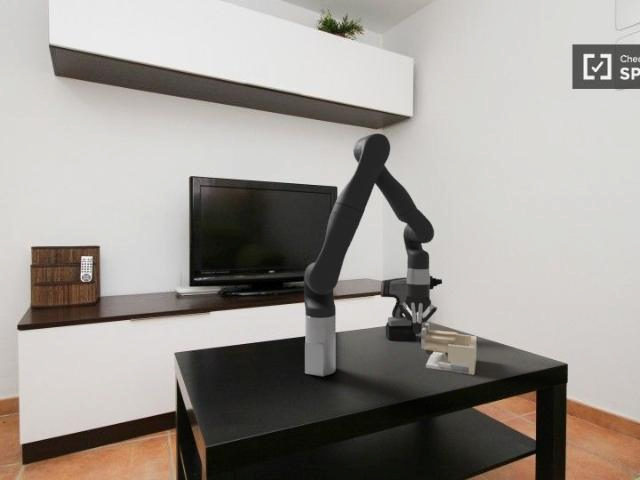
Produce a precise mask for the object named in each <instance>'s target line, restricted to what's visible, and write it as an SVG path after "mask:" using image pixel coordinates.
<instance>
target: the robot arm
mask: <svg viewBox="0 0 640 480" xmlns="http://www.w3.org/2000/svg"><path fill="white" fill-rule="evenodd" d="M352 152H353V157H354V159H355V160H356V162H357V166H356V169H355V171H354V173H353V175H352V177H351V178H350V179H349V181H348V182H347V184H346V185H345V186H344V187H343V189H342V190H341V192H340V193H339V195H338V196H337V199H336V200H335V203H334V204H333V207H332V209H331V212H330V215H329V218H328V222H327V227H326V232H325V238H324V243H323V245H322V248H321V251H320V252H319V255H318V256H317V259H316V261H315V262H314V261H313V262H311V263H310V264H309V265H308V266H307V267H306V269H305V271H304V275H303V296H304V297H303V298H304V299H303V301H304V302H303V303H304V307H305V308H304V309H305V327H304V328H305V342H304V373H305V374H307V375H311V376H312V375H313V376H317V377H325V376H329V375H331V374H334V373H335V372H336V346H337V345H336V344H337V343H336V330H337V329H336V328H337V327H336V325H337V323H336V322H337V321H336V320H337V319H336V316H337V315H336V313H337V310H336V309H337V308H336V304H335V299H334V289H335V288H336V286H337V284H338V282H339V279H340V276H341V275H340V274H341V271H342V268H343V264H344V261H345V257H346V254H347V253H348V250H349V248H350V246H351V244H352V241H353V239H354V237H355V235H356V233H357V230H358V228H359V226H360V224H361V221H362V218H363V216H364V214H365V211H366V207H367V205H368V203H369V200H370V198H371V195H372V192H373V190H374V187H375V186H377V188H378V189H379V190H380V192H381V194H382V195H383V197H384V198H385V200H386V201H387V203H388V204H389V206H390V208H391V210H392V211H393V213H394V215H395V216H396V218H397V219H398V221H400V222H402V223H405V224H406V225H405V226H404V229H403V234H402V237H403V242H404V248H405V251H406V255H407V263H406V264H407V268H406V269H407V270H406V277H407V283H406V299H405V302H404V303H402V304H400V305H399V308H400V310H401V311H402V313H403V316H405V317H406V318H407V319H408V320H410V321H412V322H413V332H415V334H416V335H421V330H422V328H423V323H428V320H429V319H431V317H432V316H433V315H434V314H435V313H436V311H437V310H438V307H437V306H434V304H432V301H431V299H430V296H431V295H430V293H431V290H430V276H431V273H430V254H429V252H428V251H426V250H424V249H423V246H422V245H423V244H429V243H431V242H432V241H433V239H434V236H435V229H434V227H433V225H432V223H431V221H430V220H429V219H428V217H426V215H424V214H423V212H422V211H420V209H418V207H417V206H416V204H415V202H414V200H413V198H412V197H411V195H410V194H409V192H408V190H407V189H406V188H405V187H404V186H403V185H402V183H400V181H399V180H397V179H396V178H395V177H394V176H393V175H392V174H391V172H390V171H389V170H388V168H387V167H386V162H387V160H388V159H389V158H390V153H391V143H390V141H389V139H388V137H387V136H386V135H385V134H383V133H379V132H378V133H372V134H369V135H366V136H363V137H362V138H360V139H358V140H357V141H356V142H355V143H354V145H353V151H352ZM407 308H408V309H409V310H410V311H411V313H410V312H409V310H408V309H407ZM427 310H429V312H428V313H427V314H426V316H424V313H425V312H426V311H427Z"/></svg>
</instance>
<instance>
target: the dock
mask: <svg viewBox="0 0 640 480" xmlns="http://www.w3.org/2000/svg"><path fill="white" fill-rule="evenodd" d="M477 340H478V339H477V336H476V335H469V334H468V335H467V334H460V333H457V345H451V344H448V357H447V356H446V354H445V352H440V351H434V352H433V354H431V355H429V358H428V360H427V362H426V364H425V368H427V369H433V370H438V371H445V372H452V373H460V374H466V375H472V376H474V375H475V374H476V373H475V372H476V363H477Z"/></svg>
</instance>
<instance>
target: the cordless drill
mask: <svg viewBox="0 0 640 480" xmlns="http://www.w3.org/2000/svg"><path fill="white" fill-rule="evenodd" d="M406 283H407V276H406V277H405V276H404V277H396V278H391V279H383V280H382V281H381V285H380V292H379V295H380V298H393V299H395V305H394V307H393V308H392V311H391V316H389V317H388V318H387V322H386V325H385V338H386V339H387V341H416V339H417V334H415V332H413V322H412V321H410V320H408V319H407V318H406V317H405V315H404V314H403V313H402V311H401V310H400V308H399V305H400V304H402V303H404V302H405V299H406ZM441 284H443V279H441V278H436V277H433V276H432V275H430V291H432V290H434V287H437V286H439V285H441Z"/></svg>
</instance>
